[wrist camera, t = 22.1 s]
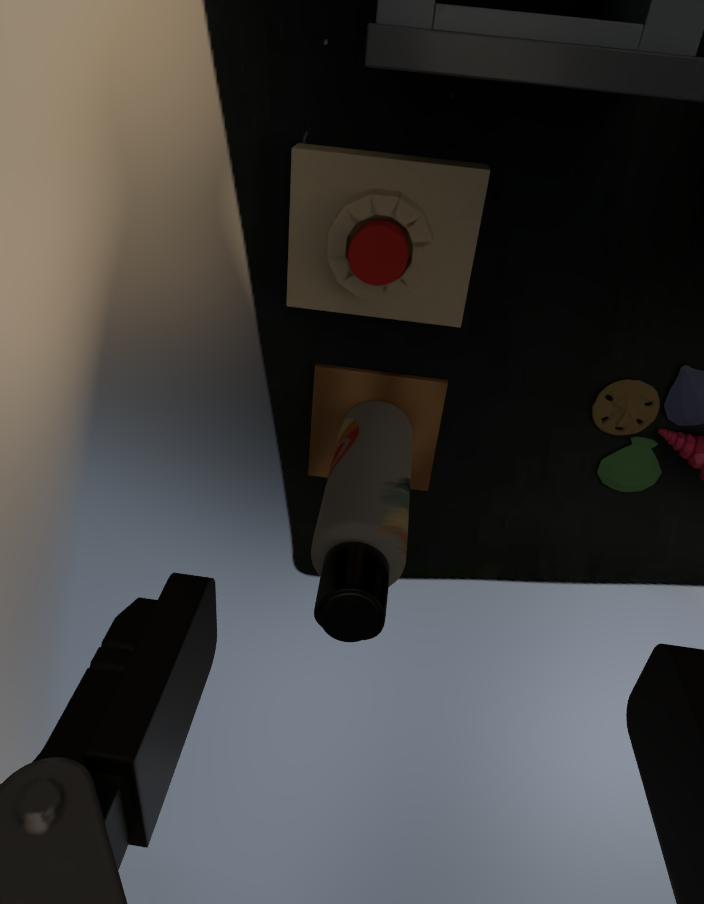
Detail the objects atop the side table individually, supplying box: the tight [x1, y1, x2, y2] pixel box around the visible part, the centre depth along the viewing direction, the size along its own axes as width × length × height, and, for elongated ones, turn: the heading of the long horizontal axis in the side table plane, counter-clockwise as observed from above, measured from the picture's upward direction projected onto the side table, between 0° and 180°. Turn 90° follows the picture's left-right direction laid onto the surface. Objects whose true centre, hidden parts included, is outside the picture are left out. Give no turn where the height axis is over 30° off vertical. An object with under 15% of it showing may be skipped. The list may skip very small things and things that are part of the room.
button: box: [348, 219, 409, 286], centre depth 40 cm, size 4×4×2 cm
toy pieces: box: [592, 365, 704, 492], centre depth 47 cm, size 12×11×4 cm
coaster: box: [308, 363, 448, 491], centre depth 51 cm, size 10×10×1 cm
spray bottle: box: [311, 401, 412, 642], centre depth 42 cm, size 6×6×20 cm
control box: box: [287, 143, 490, 327], centre depth 42 cm, size 12×10×4 cm
